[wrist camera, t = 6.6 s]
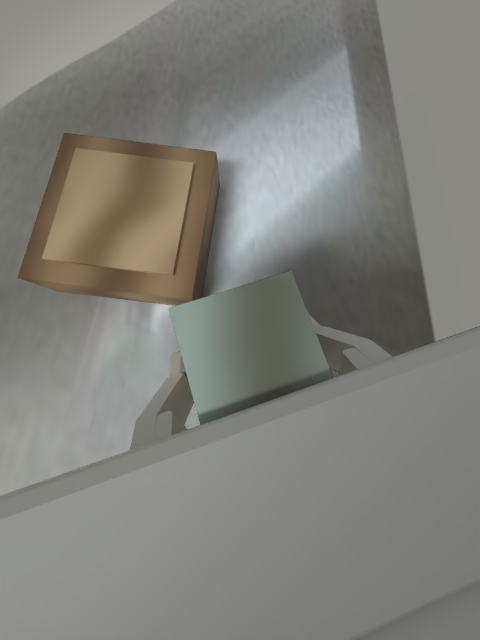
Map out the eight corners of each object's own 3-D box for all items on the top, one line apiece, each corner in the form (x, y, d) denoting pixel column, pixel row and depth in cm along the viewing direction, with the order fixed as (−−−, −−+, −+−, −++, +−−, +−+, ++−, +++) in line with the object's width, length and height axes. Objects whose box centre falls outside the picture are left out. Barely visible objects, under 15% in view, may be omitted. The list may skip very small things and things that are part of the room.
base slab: (58, 291, 16) (13, 276, 13) (92, 169, 18) (61, 129, 14) (200, 308, 16) (191, 298, 13) (219, 184, 18) (215, 148, 15)
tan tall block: (224, 387, 15) (206, 445, 6) (207, 332, 16) (168, 308, 7) (278, 368, 15) (340, 396, 6) (260, 315, 16) (291, 270, 7)
